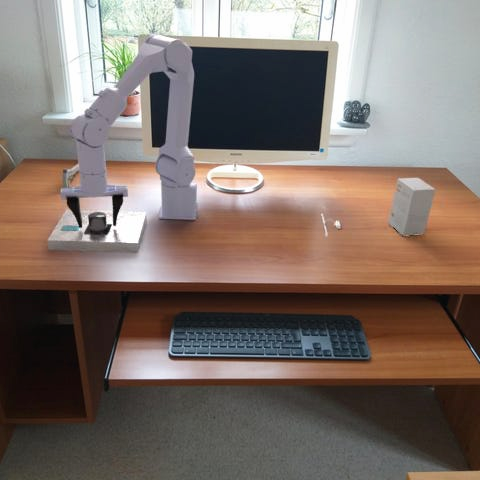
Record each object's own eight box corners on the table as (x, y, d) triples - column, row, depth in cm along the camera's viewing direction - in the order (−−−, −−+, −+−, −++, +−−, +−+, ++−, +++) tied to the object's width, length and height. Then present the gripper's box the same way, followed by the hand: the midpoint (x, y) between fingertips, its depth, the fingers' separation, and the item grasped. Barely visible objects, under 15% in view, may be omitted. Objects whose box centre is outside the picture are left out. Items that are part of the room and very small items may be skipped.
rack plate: (146, 220, 129) (146, 211, 128) (137, 252, 115) (137, 242, 114) (67, 218, 128) (66, 209, 126) (48, 249, 114) (47, 239, 112)
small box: (424, 235, 130) (436, 189, 124) (402, 237, 129) (414, 190, 122) (407, 221, 137) (418, 177, 131) (387, 223, 136) (397, 178, 129)
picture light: (319, 214, 139) (321, 207, 138) (335, 215, 139) (336, 209, 138) (325, 238, 127) (326, 231, 126) (342, 240, 127) (343, 232, 126)
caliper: (67, 191, 142) (65, 171, 139) (63, 191, 142) (61, 171, 139) (83, 166, 160) (81, 147, 157) (79, 166, 160) (77, 147, 157)
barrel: (107, 233, 122) (105, 211, 119) (108, 241, 118) (106, 218, 116) (90, 234, 121) (88, 212, 118) (90, 242, 117) (88, 220, 115)
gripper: (125, 163, 116) (128, 215, 123) (59, 165, 113) (66, 219, 119) (126, 174, 110) (130, 229, 117) (57, 176, 107) (64, 233, 113)
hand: (97, 224), depth 118 cm, fingers open, 7 cm apart
